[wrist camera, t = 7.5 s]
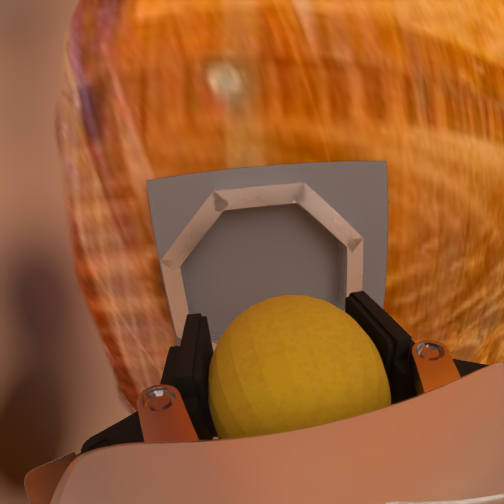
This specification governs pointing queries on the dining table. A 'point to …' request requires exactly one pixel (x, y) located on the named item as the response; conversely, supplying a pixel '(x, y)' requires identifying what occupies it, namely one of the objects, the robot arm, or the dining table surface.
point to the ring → (256, 197)
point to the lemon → (293, 369)
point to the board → (272, 235)
